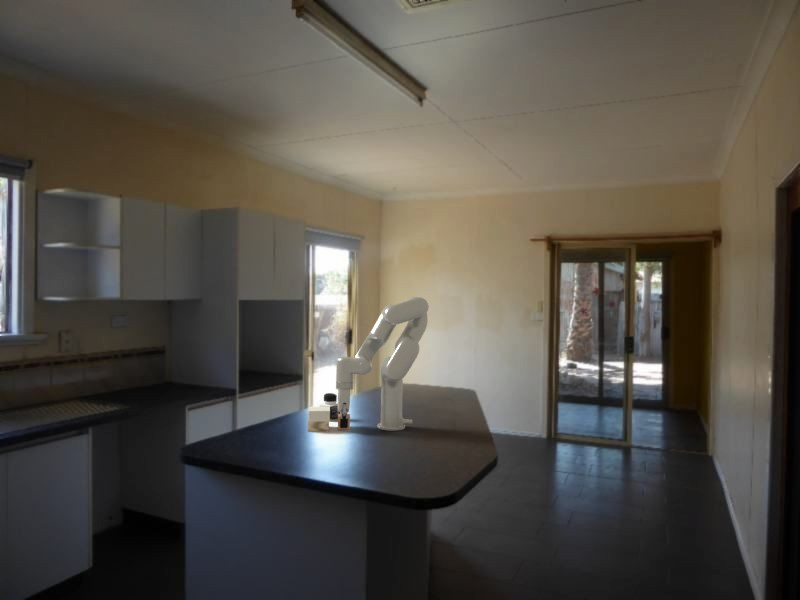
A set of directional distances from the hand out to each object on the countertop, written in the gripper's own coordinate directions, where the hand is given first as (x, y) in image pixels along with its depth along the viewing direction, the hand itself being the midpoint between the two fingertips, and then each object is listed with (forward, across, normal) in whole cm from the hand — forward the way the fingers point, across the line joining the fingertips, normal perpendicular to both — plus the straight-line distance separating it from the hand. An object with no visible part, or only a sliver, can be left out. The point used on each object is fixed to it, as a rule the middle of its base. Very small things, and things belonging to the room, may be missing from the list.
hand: (343, 425), depth 246 cm
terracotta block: (+2, 0, 0) cm, 2 cm away
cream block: (-3, 0, -11) cm, 11 cm away
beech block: (+2, 0, -11) cm, 11 cm away
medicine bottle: (+2, -19, -6) cm, 20 cm away
